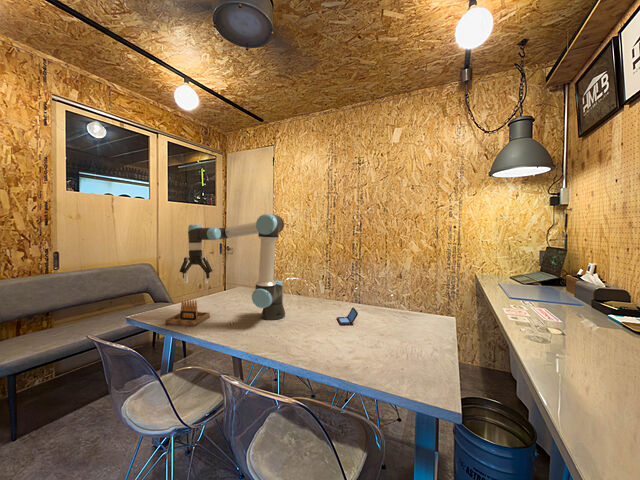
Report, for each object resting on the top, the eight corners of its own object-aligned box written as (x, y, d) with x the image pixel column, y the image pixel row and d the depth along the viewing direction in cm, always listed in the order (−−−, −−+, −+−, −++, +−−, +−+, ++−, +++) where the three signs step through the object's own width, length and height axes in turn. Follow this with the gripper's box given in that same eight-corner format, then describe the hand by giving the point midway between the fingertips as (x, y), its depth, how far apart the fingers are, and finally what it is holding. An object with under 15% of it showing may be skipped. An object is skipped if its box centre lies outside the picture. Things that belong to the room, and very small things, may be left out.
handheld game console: (336, 318, 163) (336, 307, 162) (353, 318, 164) (353, 306, 163) (340, 326, 150) (340, 313, 150) (358, 325, 151) (358, 313, 151)
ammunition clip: (198, 319, 157) (198, 299, 157) (196, 320, 155) (196, 300, 155) (182, 318, 158) (182, 298, 158) (180, 319, 156) (180, 299, 156)
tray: (209, 317, 163) (209, 312, 163) (194, 326, 147) (194, 321, 147) (183, 315, 166) (183, 311, 166) (165, 324, 150) (165, 319, 150)
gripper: (217, 249, 162) (218, 282, 163) (180, 249, 165) (181, 282, 166) (211, 249, 155) (212, 285, 156) (172, 250, 157) (173, 284, 158)
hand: (196, 283), depth 161 cm, fingers open, 13 cm apart
